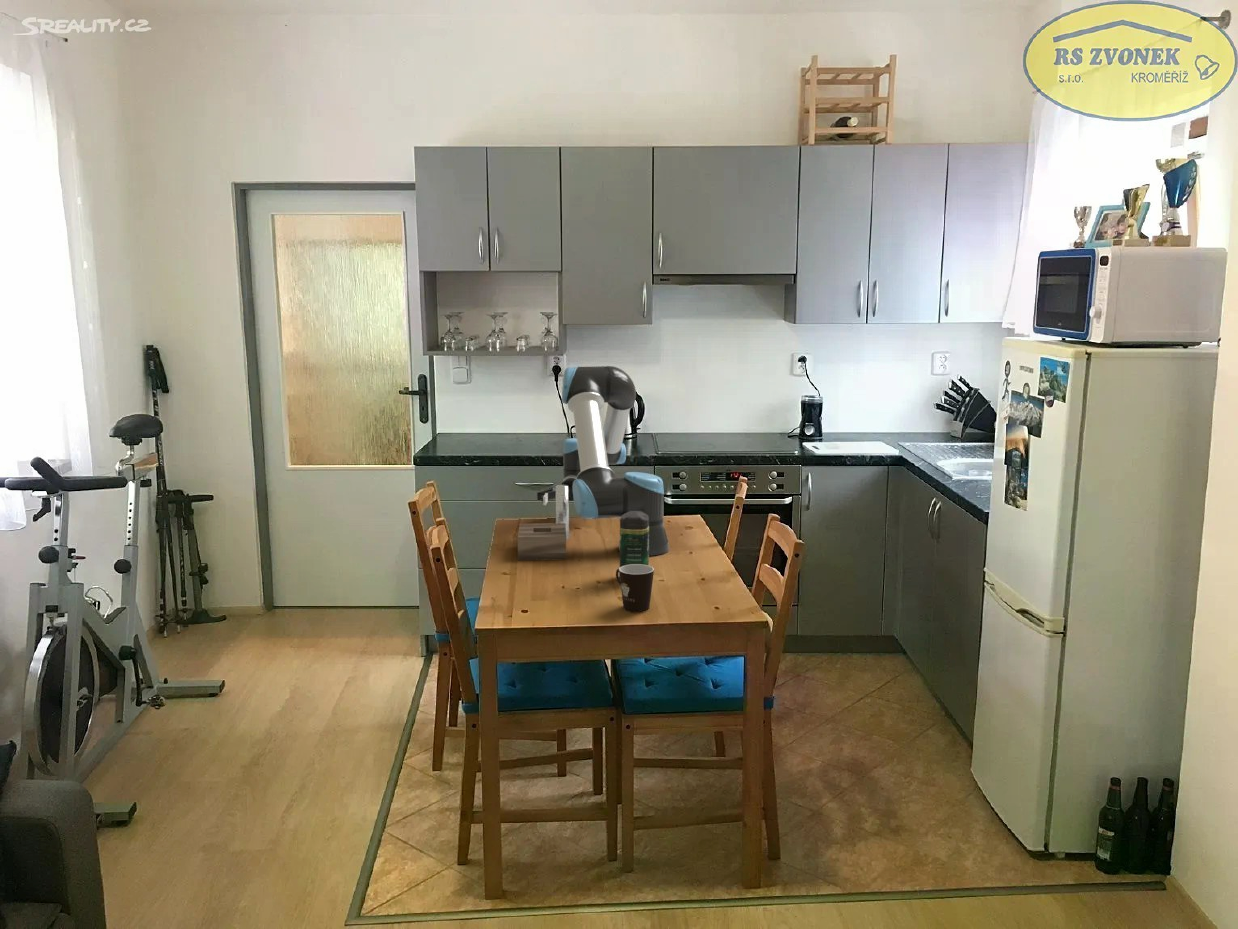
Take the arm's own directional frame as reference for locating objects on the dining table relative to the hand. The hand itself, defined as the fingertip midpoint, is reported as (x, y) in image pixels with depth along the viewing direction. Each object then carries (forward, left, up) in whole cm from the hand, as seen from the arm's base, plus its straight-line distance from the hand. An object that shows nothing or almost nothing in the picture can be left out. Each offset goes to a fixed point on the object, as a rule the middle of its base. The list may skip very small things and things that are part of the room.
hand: (565, 501), depth 313 cm
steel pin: (-7, +6, -10) cm, 14 cm away
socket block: (-17, +20, -10) cm, 28 cm away
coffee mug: (-73, +29, -10) cm, 79 cm away
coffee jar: (-55, +15, -10) cm, 58 cm away
